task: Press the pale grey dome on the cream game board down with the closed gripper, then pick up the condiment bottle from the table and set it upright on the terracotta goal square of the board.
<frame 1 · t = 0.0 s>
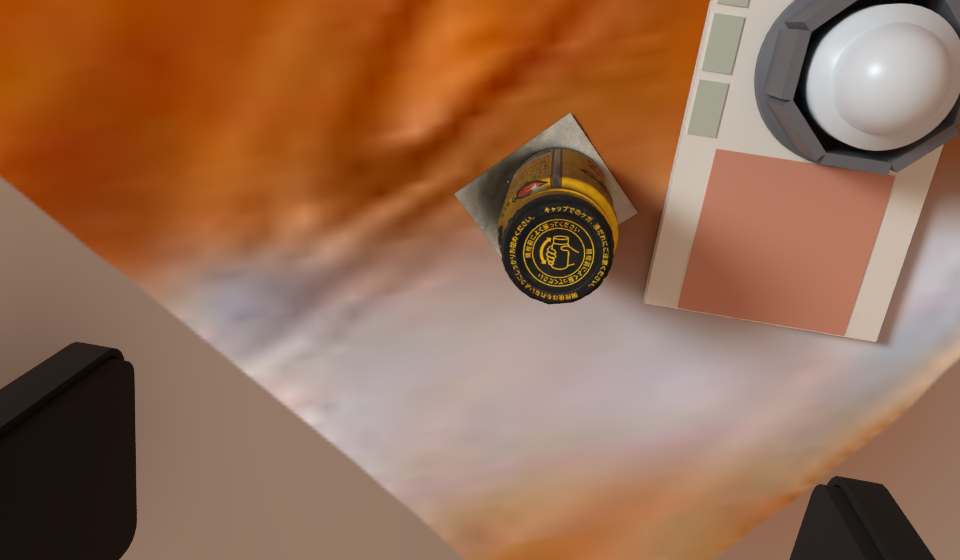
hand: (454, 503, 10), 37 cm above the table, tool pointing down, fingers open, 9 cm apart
condiment: (545, 201, 46), on the table
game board: (800, 157, 44), on the table
dome: (888, 79, 36), point 6 cm above the table, slide at 0.0 cm
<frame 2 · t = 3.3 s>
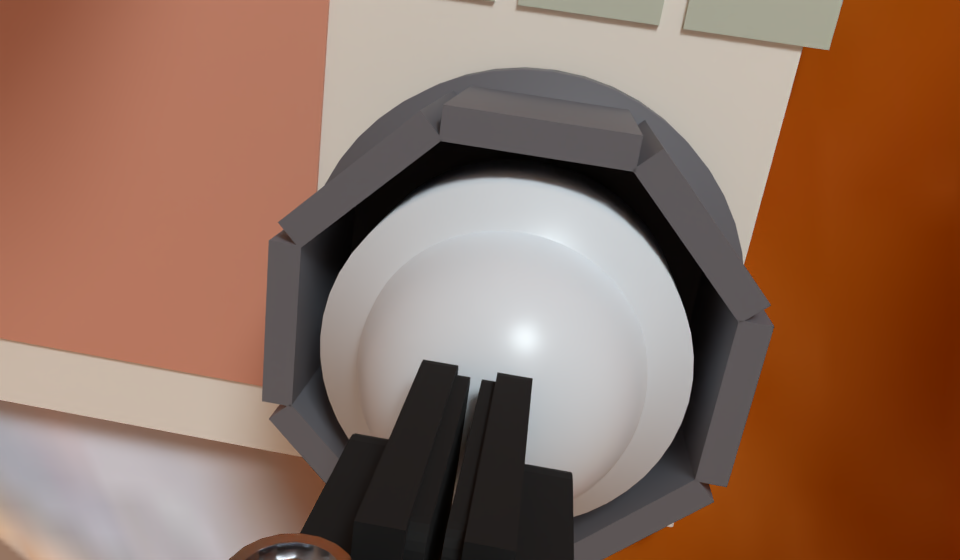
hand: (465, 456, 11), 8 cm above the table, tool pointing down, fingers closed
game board: (332, 199, 19), on the table
dome: (501, 368, 14), point 6 cm above the table, slide at 0.5 cm, touching gripper
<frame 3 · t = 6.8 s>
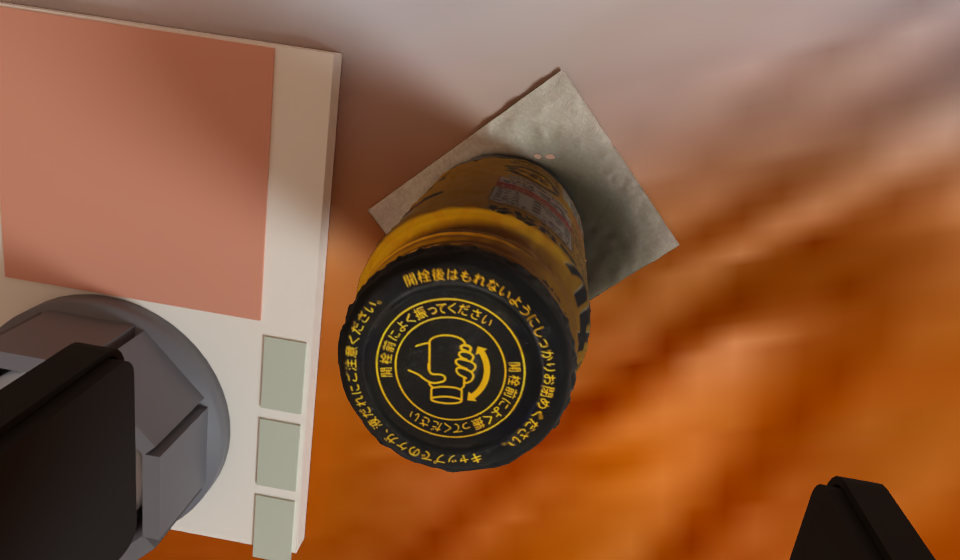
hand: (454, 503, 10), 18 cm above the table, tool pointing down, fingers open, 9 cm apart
condiment: (521, 224, 28), on the table
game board: (146, 291, 30), on the table
dome: (49, 461, 27), point 5 cm above the table, slide at 1.5 cm
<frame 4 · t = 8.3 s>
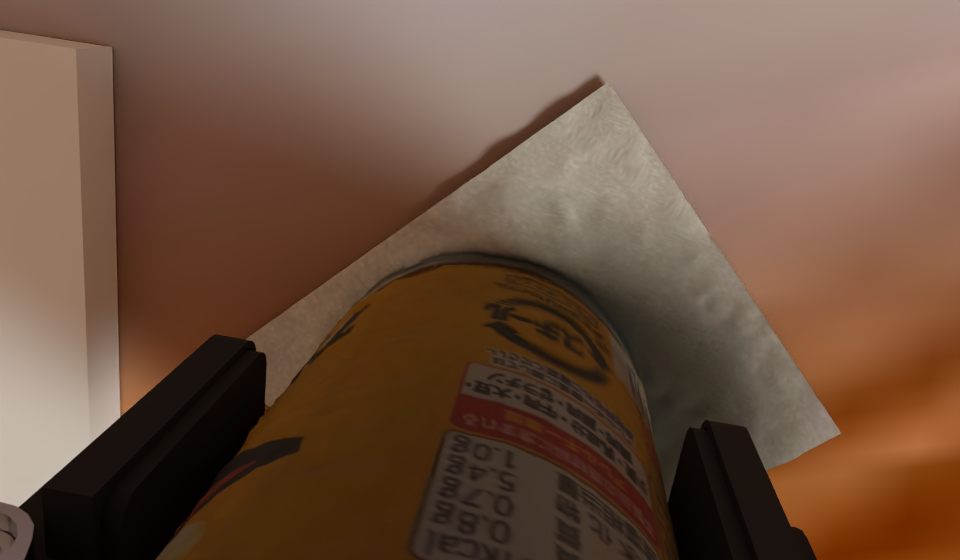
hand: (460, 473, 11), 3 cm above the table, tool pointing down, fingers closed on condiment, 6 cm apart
condiment: (522, 381, 14), on the table, touching gripper
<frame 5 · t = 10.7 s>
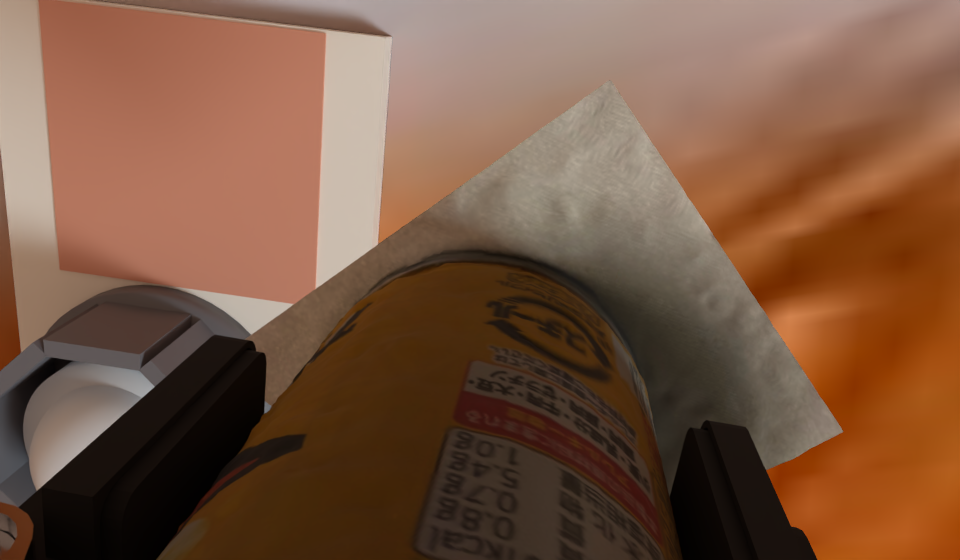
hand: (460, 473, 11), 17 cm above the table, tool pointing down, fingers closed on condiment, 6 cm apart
condiment: (524, 379, 14), point 14 cm above the table, touching gripper
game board: (198, 281, 30), on the table
dome: (113, 450, 27), point 5 cm above the table, slide at 1.5 cm
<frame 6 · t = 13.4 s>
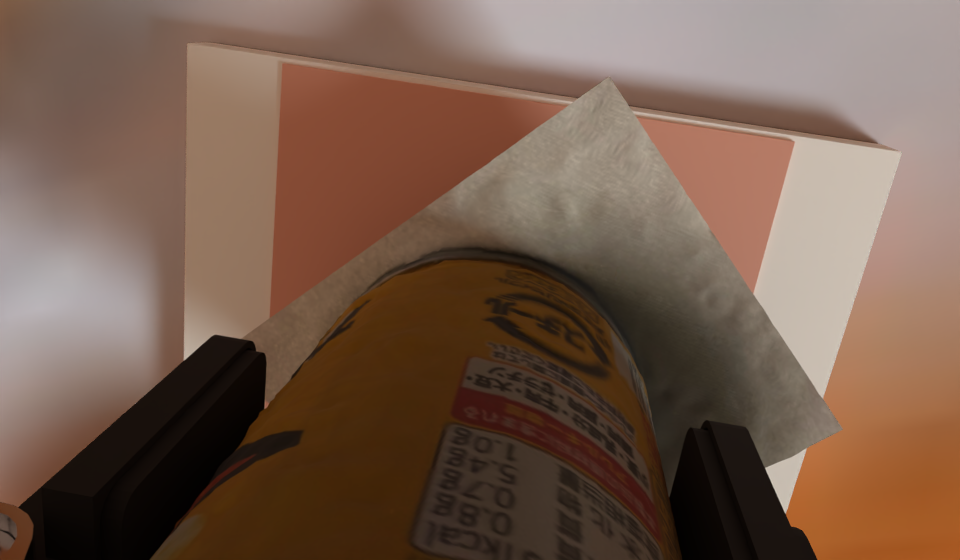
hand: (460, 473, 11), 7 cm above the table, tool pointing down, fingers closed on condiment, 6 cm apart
condiment: (523, 377, 14), point 3 cm above the table, touching gripper
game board: (471, 499, 19), on the table
when the fingers open (5 cm above the table, at t = 14.2 s): condiment stays where it is, resting on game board.
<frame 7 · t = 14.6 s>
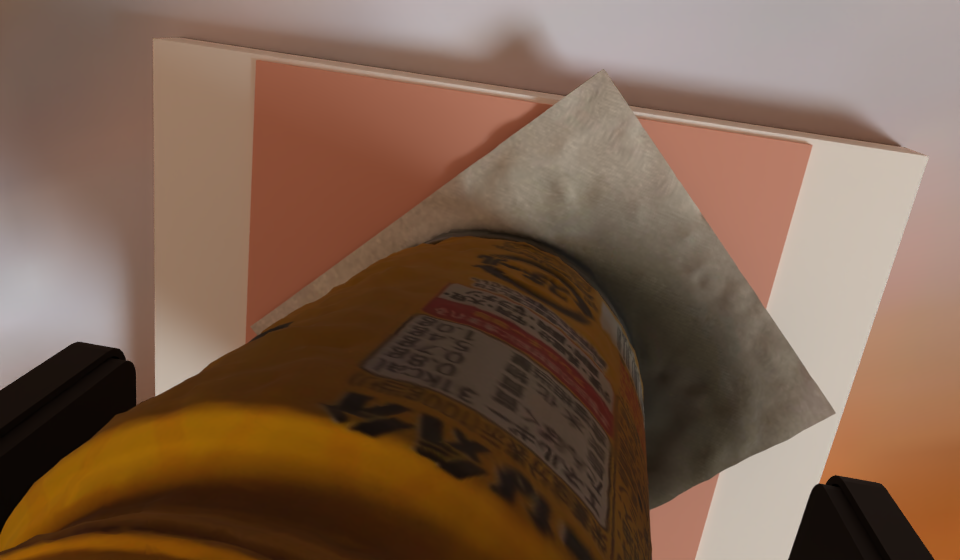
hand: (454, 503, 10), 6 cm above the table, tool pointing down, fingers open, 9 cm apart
condiment: (526, 359, 15), point 1 cm above the table, touching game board
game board: (464, 524, 18), on the table
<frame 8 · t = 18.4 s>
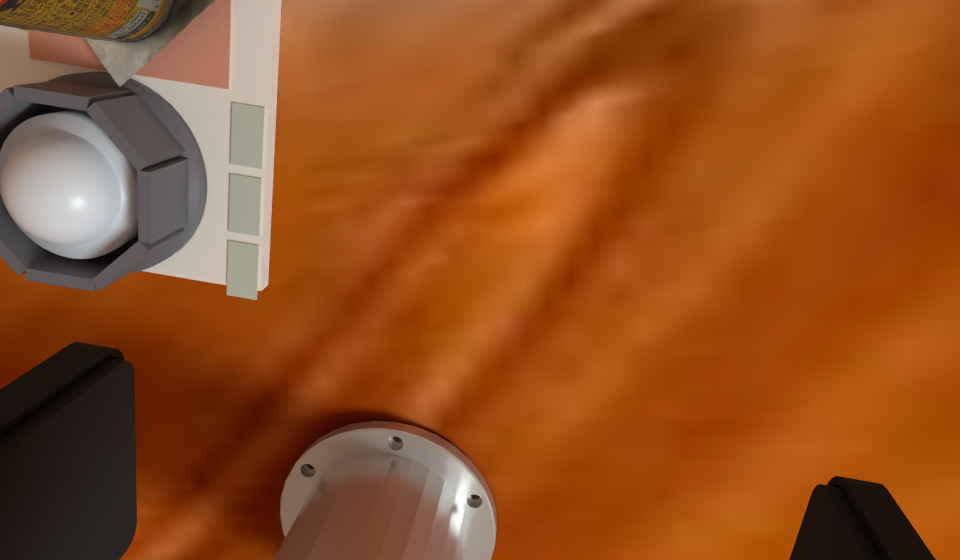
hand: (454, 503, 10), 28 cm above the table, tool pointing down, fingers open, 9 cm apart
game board: (140, 74, 38), on the table
dome: (67, 188, 35), point 5 cm above the table, slide at 1.5 cm
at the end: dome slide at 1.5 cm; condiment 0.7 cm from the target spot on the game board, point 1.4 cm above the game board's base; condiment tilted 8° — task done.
